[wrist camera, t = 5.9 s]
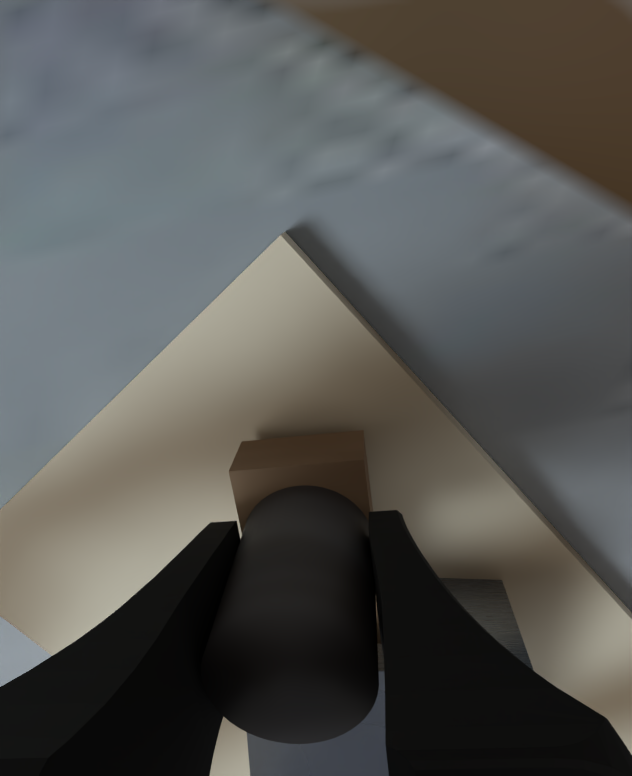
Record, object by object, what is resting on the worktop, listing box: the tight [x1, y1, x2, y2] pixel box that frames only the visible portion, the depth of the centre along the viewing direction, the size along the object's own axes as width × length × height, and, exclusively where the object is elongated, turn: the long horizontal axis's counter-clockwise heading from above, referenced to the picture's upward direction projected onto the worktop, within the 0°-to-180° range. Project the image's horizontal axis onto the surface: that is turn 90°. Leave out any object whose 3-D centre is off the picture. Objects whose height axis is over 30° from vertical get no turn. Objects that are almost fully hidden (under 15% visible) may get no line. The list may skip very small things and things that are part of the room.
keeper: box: [247, 578, 534, 776], centre depth 15 cm, size 6×4×4 cm
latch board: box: [0, 232, 632, 776], centre depth 17 cm, size 19×14×1 cm
